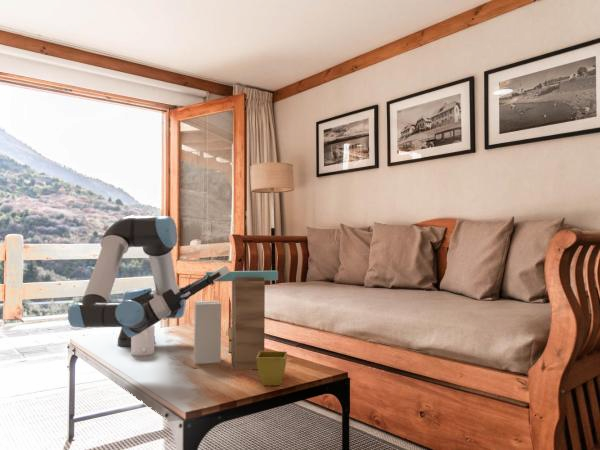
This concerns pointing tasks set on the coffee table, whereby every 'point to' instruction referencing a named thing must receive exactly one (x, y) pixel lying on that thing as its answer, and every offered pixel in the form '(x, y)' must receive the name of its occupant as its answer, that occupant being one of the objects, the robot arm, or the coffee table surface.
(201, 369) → the coffee table surface
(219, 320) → the tall white pillar
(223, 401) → the coffee table surface
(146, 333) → the mug
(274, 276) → the block
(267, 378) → the flower pot
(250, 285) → the stand
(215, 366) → the coffee table surface
